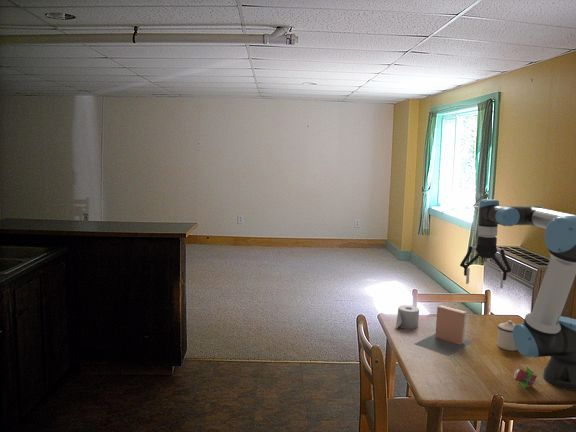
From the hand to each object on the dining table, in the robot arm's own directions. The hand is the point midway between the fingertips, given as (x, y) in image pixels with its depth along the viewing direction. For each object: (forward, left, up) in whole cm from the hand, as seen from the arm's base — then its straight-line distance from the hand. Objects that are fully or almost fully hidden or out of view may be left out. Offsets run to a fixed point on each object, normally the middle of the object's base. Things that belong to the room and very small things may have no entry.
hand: (484, 285), depth 211 cm
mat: (+2, +15, -26) cm, 30 cm away
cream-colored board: (+5, +11, -26) cm, 29 cm away
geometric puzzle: (-38, +4, -26) cm, 46 cm away
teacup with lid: (-3, -12, -26) cm, 29 cm away
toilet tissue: (+24, +23, -27) cm, 43 cm away
